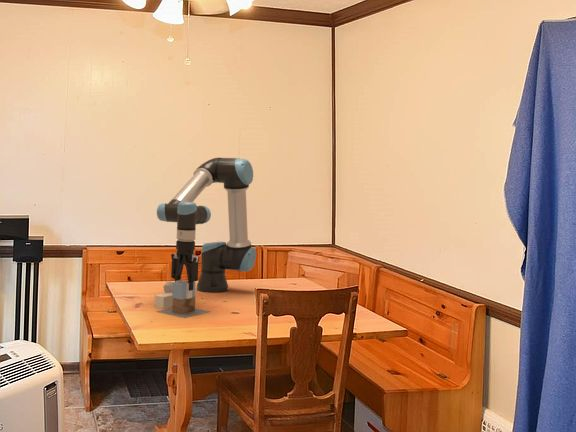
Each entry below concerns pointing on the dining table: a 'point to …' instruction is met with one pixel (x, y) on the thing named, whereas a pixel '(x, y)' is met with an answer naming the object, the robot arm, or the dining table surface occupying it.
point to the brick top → (181, 290)
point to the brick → (163, 300)
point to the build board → (185, 315)
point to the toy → (168, 287)
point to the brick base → (183, 305)
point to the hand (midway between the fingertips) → (183, 297)
